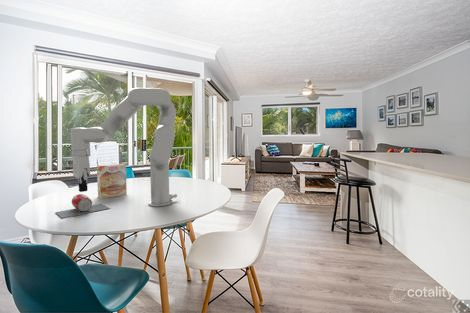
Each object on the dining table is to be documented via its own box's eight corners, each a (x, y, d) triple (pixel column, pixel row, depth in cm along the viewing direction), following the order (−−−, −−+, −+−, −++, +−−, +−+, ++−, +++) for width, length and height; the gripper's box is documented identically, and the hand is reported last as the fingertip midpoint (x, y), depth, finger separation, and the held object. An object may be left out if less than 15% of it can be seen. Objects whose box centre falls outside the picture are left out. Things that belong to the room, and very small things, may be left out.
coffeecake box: (100, 198, 138) (99, 165, 136) (97, 196, 143) (96, 165, 141) (127, 194, 148) (126, 164, 146) (123, 192, 153) (122, 163, 152)
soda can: (68, 197, 115) (73, 202, 107) (83, 190, 120) (90, 195, 111) (74, 209, 117) (79, 215, 109) (89, 202, 122) (95, 207, 113)
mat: (101, 204, 125) (101, 203, 125) (110, 208, 117) (109, 207, 117) (55, 213, 110) (55, 212, 110) (61, 218, 102) (61, 217, 102)
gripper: (67, 153, 114) (69, 190, 115) (76, 154, 104) (78, 195, 105) (85, 152, 119) (87, 188, 121) (95, 153, 109) (97, 192, 111)
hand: (83, 191), depth 113 cm, fingers closed
